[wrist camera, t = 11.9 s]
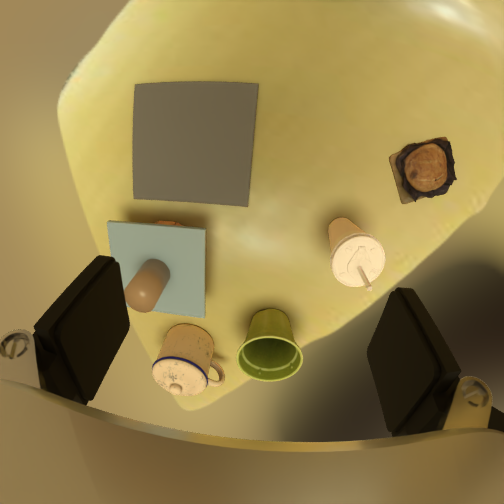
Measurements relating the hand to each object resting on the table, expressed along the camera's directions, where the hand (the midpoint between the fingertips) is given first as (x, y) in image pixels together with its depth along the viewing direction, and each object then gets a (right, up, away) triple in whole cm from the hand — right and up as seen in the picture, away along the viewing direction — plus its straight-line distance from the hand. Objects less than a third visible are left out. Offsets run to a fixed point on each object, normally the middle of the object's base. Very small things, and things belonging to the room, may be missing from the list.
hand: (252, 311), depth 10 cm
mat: (-8, +16, +26) cm, 32 cm away
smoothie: (+12, +5, +30) cm, 33 cm away
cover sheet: (-12, 0, +28) cm, 31 cm away
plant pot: (+3, -9, +38) cm, 39 cm away
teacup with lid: (-10, -14, +41) cm, 45 cm away
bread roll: (+24, +14, +26) cm, 38 cm away
